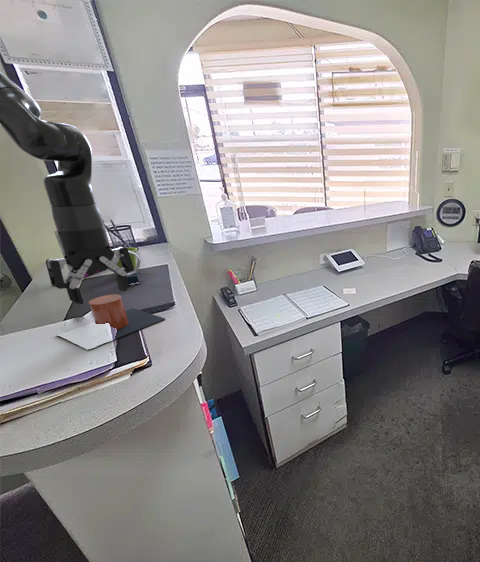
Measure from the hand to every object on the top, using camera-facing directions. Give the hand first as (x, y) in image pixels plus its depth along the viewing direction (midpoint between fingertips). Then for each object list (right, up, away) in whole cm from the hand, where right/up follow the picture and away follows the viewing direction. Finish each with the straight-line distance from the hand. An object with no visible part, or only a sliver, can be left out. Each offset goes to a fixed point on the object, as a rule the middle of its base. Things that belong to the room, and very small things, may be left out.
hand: (102, 296), depth 71 cm
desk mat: (0, -8, +3) cm, 8 cm away
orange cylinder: (0, -7, +3) cm, 8 cm away
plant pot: (-26, +6, +40) cm, 48 cm away
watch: (-18, +3, +31) cm, 36 cm away
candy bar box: (-40, +6, +41) cm, 58 cm away
